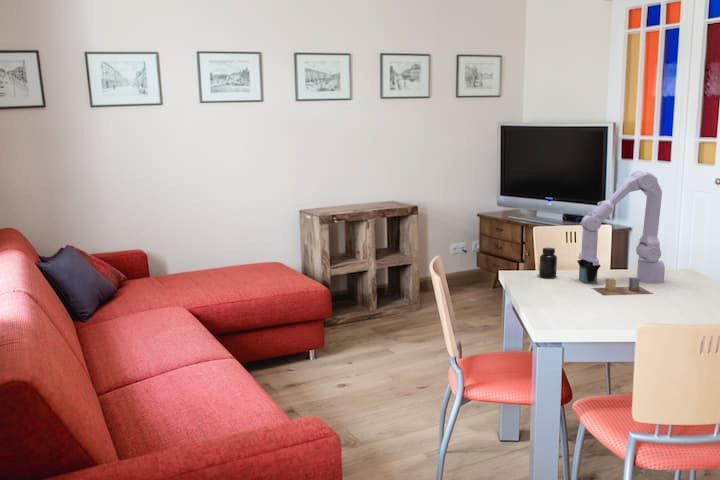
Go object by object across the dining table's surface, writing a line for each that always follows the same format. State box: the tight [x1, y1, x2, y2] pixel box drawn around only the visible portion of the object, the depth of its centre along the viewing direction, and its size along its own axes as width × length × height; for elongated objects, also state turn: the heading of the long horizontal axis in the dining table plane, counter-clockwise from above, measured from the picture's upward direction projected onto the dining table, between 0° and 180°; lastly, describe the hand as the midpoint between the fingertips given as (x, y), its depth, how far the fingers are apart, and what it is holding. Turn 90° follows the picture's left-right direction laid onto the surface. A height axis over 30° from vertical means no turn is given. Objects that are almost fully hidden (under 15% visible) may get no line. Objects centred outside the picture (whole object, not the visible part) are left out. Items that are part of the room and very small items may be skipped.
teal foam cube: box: [578, 266, 598, 284], centre depth 263 cm, size 5×5×6 cm
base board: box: [591, 285, 654, 296], centre depth 248 cm, size 19×11×1 cm, turn 94°
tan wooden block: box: [605, 277, 617, 292], centre depth 247 cm, size 3×3×5 cm
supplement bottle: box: [538, 247, 558, 279], centre depth 273 cm, size 7×7×12 cm
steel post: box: [628, 277, 640, 291], centre depth 247 cm, size 3×3×5 cm
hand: (587, 279), depth 263 cm, fingers closed on teal foam cube, 5 cm apart
